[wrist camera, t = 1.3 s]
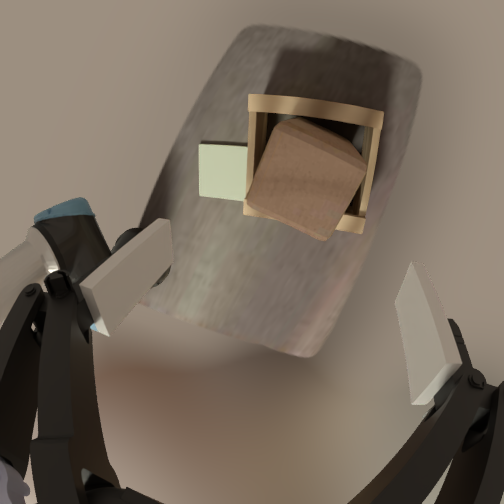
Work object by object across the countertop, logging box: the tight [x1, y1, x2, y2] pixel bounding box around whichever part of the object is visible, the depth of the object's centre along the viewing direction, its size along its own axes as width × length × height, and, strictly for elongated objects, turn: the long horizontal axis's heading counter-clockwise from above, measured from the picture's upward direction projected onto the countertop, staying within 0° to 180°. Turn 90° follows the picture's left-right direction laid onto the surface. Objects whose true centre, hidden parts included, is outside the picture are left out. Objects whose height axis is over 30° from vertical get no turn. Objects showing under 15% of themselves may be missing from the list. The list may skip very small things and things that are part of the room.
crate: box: [243, 94, 384, 234], centre depth 39 cm, size 18×18×9 cm
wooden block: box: [246, 117, 368, 241], centre depth 34 cm, size 10×10×20 cm
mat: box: [199, 144, 248, 201], centre depth 48 cm, size 10×10×1 cm
